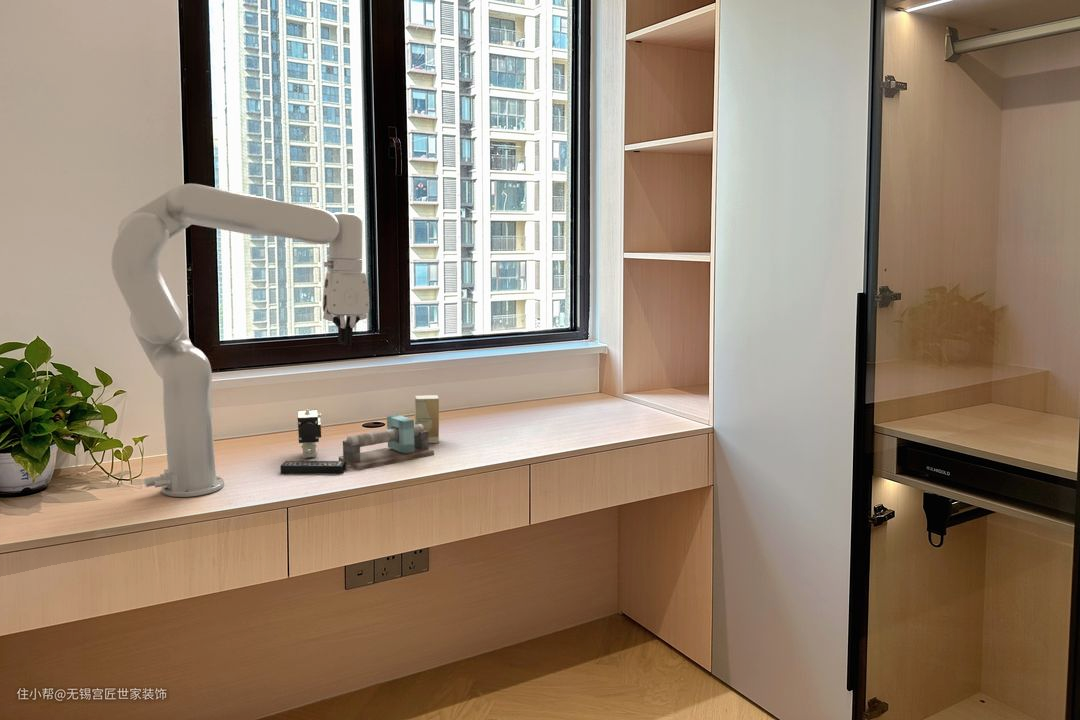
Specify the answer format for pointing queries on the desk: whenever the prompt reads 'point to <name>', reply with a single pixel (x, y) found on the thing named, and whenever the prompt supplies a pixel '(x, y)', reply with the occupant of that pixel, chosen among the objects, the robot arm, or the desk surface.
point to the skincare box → (428, 415)
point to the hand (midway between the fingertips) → (345, 344)
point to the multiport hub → (313, 467)
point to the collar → (402, 433)
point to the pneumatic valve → (309, 431)
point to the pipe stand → (386, 454)
